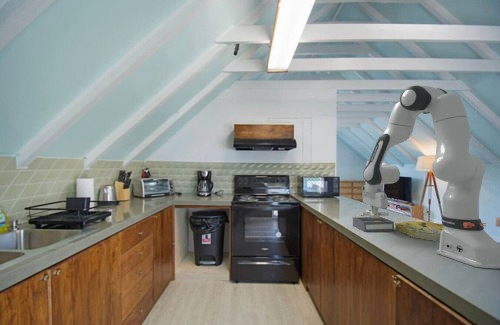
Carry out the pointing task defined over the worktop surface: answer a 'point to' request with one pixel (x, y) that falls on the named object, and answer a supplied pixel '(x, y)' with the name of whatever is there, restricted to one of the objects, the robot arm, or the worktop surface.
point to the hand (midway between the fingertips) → (374, 213)
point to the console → (373, 224)
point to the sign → (421, 230)
